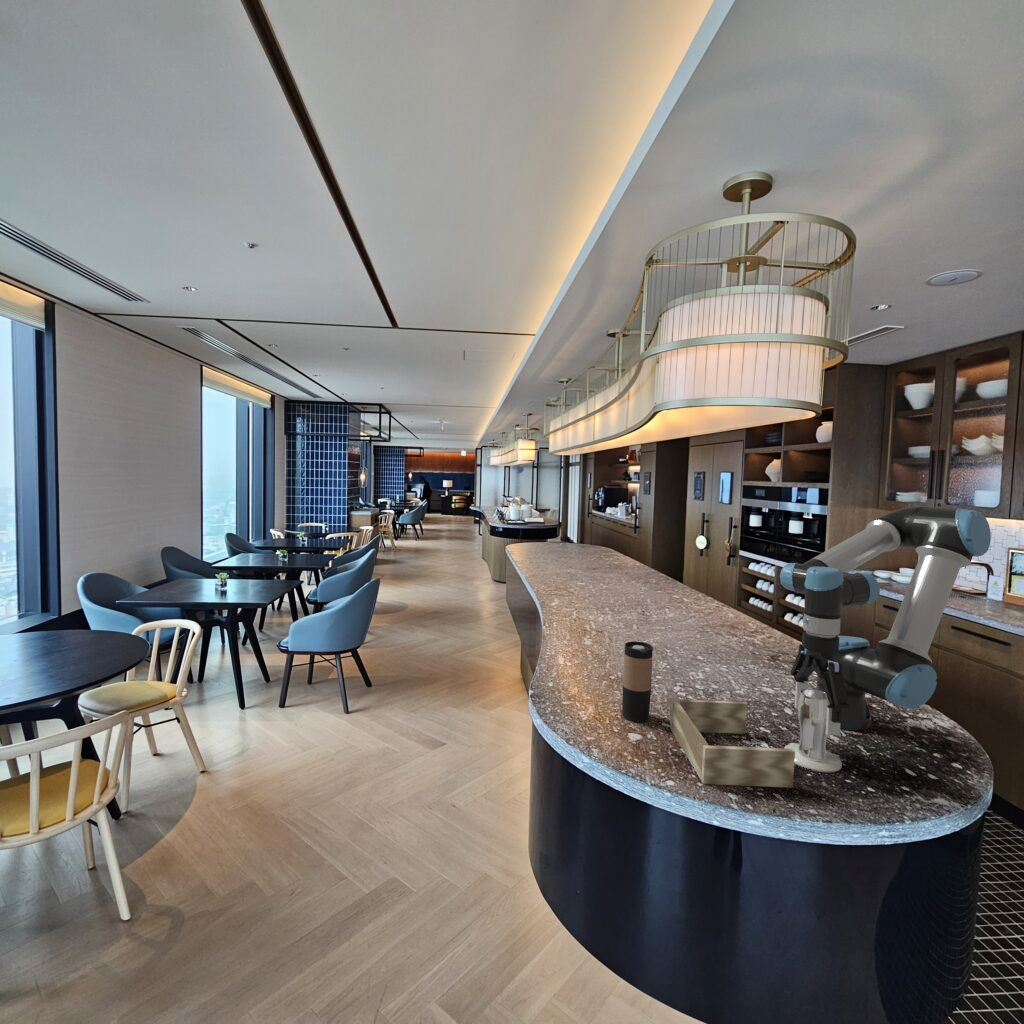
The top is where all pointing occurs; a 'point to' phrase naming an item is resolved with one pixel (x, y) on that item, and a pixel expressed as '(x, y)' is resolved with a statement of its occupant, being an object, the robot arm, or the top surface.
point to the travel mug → (637, 681)
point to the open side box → (727, 760)
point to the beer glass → (812, 724)
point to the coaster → (826, 766)
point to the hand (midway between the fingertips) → (815, 720)
